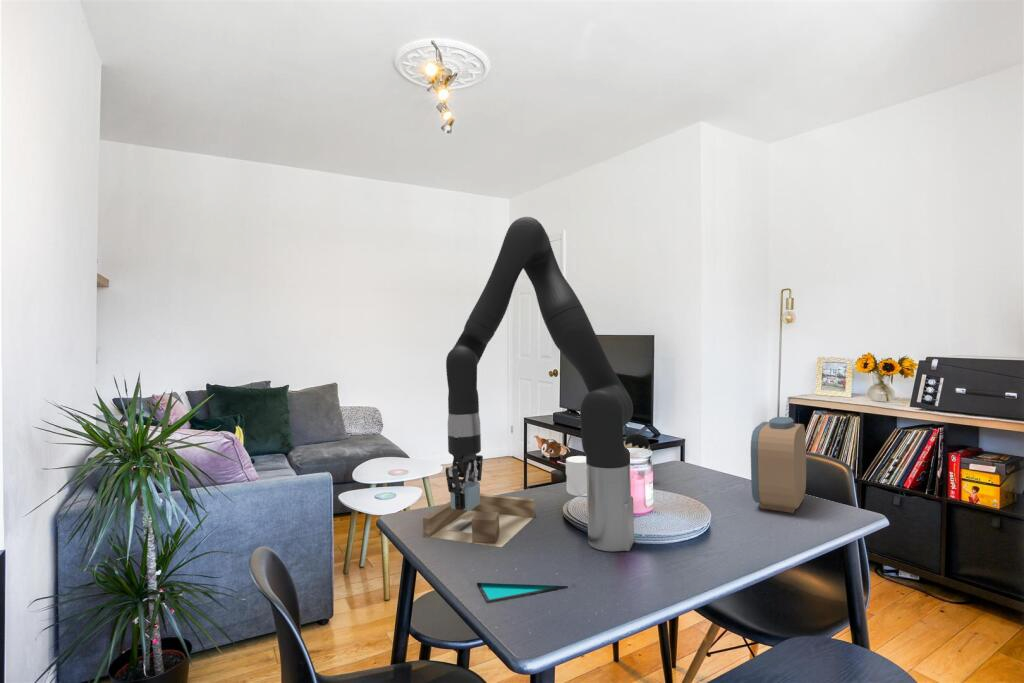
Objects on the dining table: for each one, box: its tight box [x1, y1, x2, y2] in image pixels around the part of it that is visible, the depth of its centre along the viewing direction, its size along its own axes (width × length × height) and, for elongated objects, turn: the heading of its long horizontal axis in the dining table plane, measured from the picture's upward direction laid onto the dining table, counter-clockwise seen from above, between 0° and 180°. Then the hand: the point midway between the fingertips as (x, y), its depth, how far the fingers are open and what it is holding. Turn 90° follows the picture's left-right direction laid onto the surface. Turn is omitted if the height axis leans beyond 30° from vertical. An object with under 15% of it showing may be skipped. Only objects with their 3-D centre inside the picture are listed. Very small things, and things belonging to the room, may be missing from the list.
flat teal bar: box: [476, 582, 569, 604], centre depth 95 cm, size 7×1×15 cm
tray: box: [422, 493, 536, 548], centre depth 123 cm, size 19×20×5 cm
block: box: [449, 481, 481, 511], centre depth 122 cm, size 5×5×5 cm
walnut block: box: [471, 512, 499, 544], centre depth 114 cm, size 5×5×5 cm
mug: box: [565, 455, 587, 497], centre depth 149 cm, size 12×9×8 cm
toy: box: [624, 433, 653, 465], centre depth 155 cm, size 9×7×15 cm
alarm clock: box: [750, 416, 807, 514], centre depth 135 cm, size 21×10×22 cm, turn 144°
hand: (466, 505), depth 122 cm, fingers closed on block, 5 cm apart
